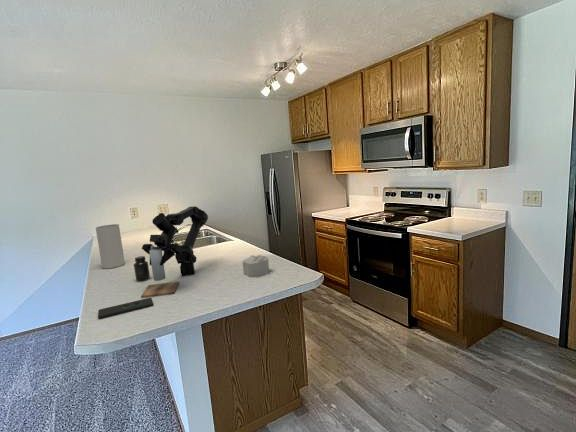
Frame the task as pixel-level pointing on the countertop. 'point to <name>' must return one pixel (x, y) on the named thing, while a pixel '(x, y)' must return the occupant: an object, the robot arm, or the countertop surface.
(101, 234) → the cylinder vase
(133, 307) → the smart home device
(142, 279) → the supplement bottle
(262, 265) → the lumpy-topped squat cylinder
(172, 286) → the walnut board
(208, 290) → the countertop surface
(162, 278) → the slate round-topped tapered cone
